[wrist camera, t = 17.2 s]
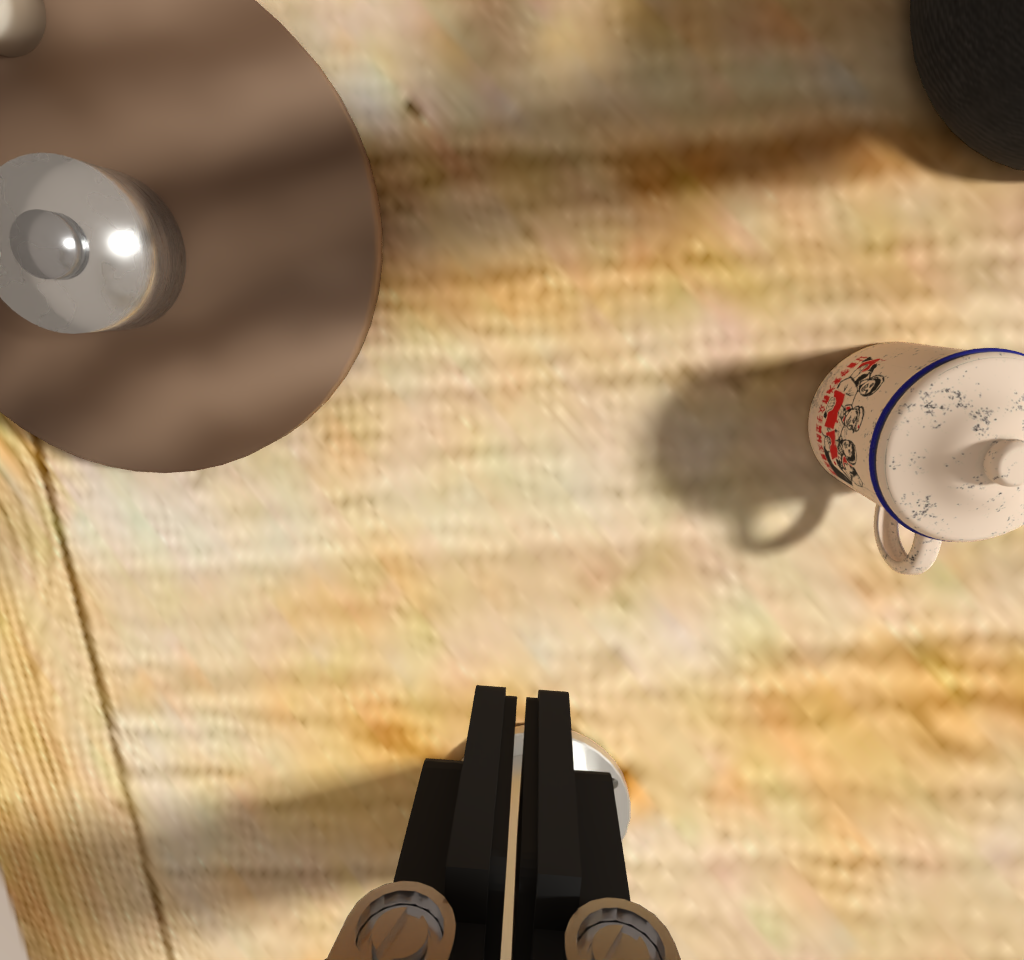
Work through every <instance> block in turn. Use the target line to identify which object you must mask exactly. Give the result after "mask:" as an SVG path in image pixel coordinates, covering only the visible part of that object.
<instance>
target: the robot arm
mask: <svg viewBox="0 0 1024 960" xmlns="http://www.w3.org/2000/svg"><path fill="white" fill-rule="evenodd" d="M505 695H506V687H493V686H480V685H477V686H476V689H475V695H474V701H473V707H472V713H471V719H470V725H469V731H468V737H467V743H466V748H465V754H464V757H463V759H462V760H461V761H455V760H442V759H429V758H426V759H425V761H424V764H423V768H422V772H421V776H420V779H419V783H418V787H417V791H416V795H415V799H414V803H413V807H412V811H411V815H410V819H409V823H408V827H407V831H406V835H405V839H404V842H403V846H402V850H401V854H400V858H399V862H398V866H397V870H396V874H395V878H394V882H393V883H388V884H385V885H382V886H380V887H378V888H376V889H374V890H372V891H370V892H369V893H368V894H366V895H365V896H364V897H363V898H362V899H360V900H359V901H358V902H357V903H356V905H355V906H354V908H353V909H352V910H351V912H350V913H349V915H348V916H347V918H346V920H345V923H344V925H343V927H342V929H341V931H340V933H339V935H338V937H337V939H336V941H335V943H334V945H333V947H332V949H331V951H330V953H329V955H328V957H327V959H325V960H681V958H680V956H679V953H678V950H677V947H676V945H675V942H674V941H673V939H672V937H671V935H670V933H669V931H668V929H667V928H666V926H665V925H664V924H663V923H662V922H661V921H660V920H659V919H658V918H657V917H656V916H655V915H654V914H653V913H651V912H650V911H648V910H647V909H645V908H644V907H642V906H641V905H639V904H636V903H633V902H631V901H630V895H629V888H628V881H627V875H626V868H625V861H624V855H623V848H622V841H623V839H624V837H625V835H626V833H627V829H628V825H629V821H630V798H629V792H628V787H627V784H626V781H625V778H624V775H623V773H622V771H621V770H620V768H619V766H618V765H617V763H616V761H615V760H614V759H613V758H612V757H611V756H610V755H609V753H608V752H607V751H606V750H605V749H604V748H602V747H601V746H600V745H598V744H597V743H596V742H594V741H593V740H592V739H590V738H588V737H586V736H584V735H582V734H580V733H578V732H576V731H572V730H571V717H570V703H569V693H568V692H561V691H548V690H539V691H538V698H530V697H527V698H526V711H525V725H521V726H516V727H515V721H516V705H517V697H516V696H505Z"/></svg>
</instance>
